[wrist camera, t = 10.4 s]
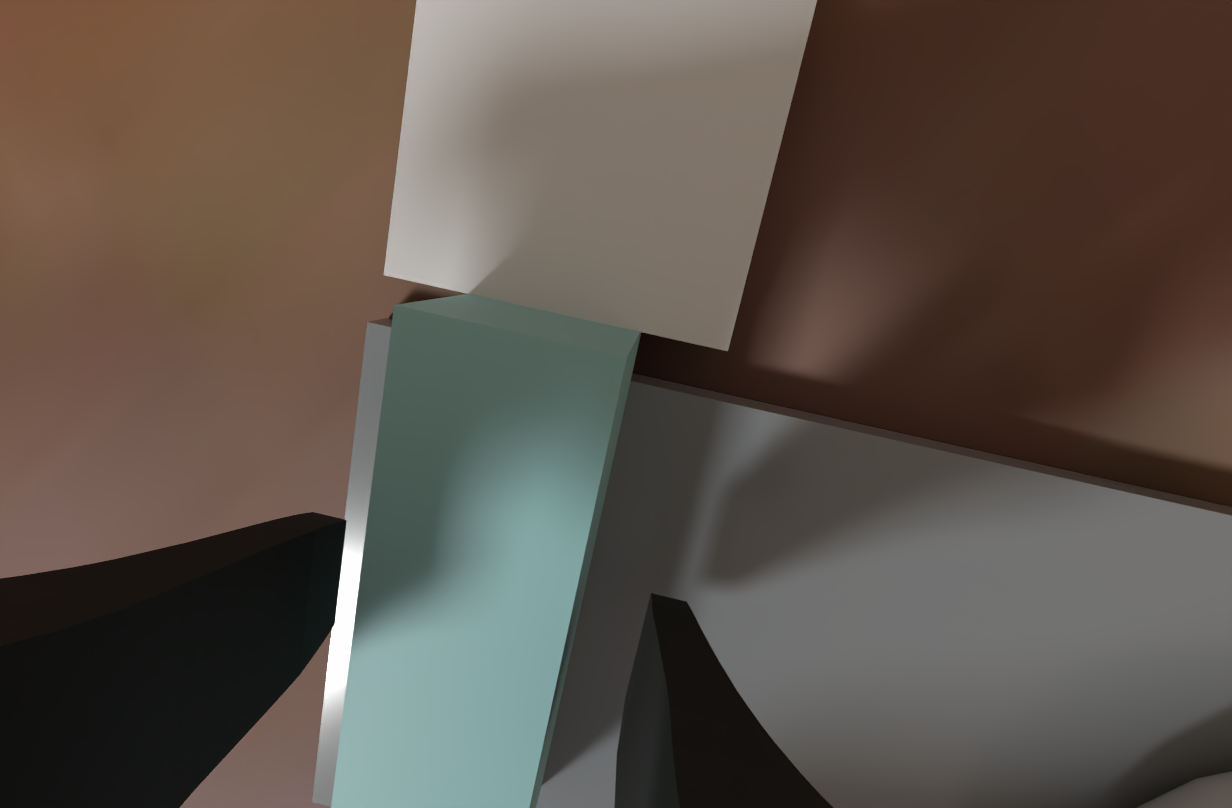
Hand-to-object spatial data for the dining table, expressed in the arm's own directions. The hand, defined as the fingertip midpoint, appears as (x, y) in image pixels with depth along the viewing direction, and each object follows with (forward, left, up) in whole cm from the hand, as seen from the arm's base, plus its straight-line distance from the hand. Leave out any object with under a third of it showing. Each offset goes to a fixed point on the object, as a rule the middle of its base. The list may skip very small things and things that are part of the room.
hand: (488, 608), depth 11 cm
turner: (+3, 0, -2) cm, 3 cm away
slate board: (-2, -8, -3) cm, 8 cm away
